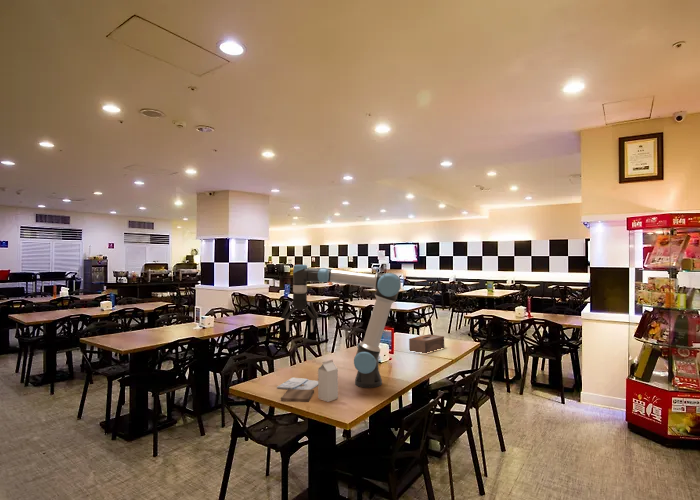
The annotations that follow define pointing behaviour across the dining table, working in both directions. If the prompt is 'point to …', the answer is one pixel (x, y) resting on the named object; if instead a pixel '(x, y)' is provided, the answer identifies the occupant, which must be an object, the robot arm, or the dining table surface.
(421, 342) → the tissue box cover
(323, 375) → the milk carton
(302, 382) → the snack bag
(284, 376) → the dining table surface
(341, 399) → the dining table surface
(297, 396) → the walnut board
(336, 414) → the dining table surface
